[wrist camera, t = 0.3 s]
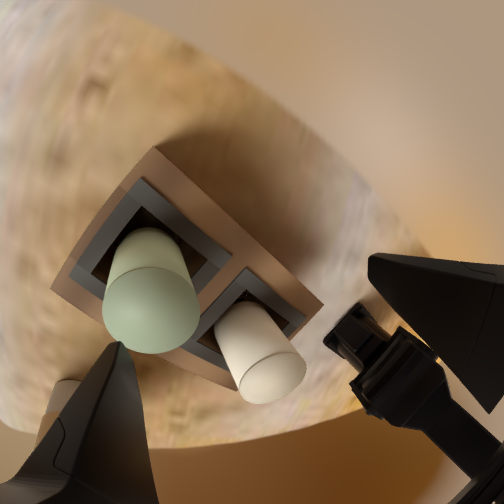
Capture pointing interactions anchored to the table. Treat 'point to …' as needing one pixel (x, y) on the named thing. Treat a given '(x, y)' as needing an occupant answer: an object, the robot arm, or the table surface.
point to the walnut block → (187, 263)
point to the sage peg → (150, 294)
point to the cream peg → (258, 353)
